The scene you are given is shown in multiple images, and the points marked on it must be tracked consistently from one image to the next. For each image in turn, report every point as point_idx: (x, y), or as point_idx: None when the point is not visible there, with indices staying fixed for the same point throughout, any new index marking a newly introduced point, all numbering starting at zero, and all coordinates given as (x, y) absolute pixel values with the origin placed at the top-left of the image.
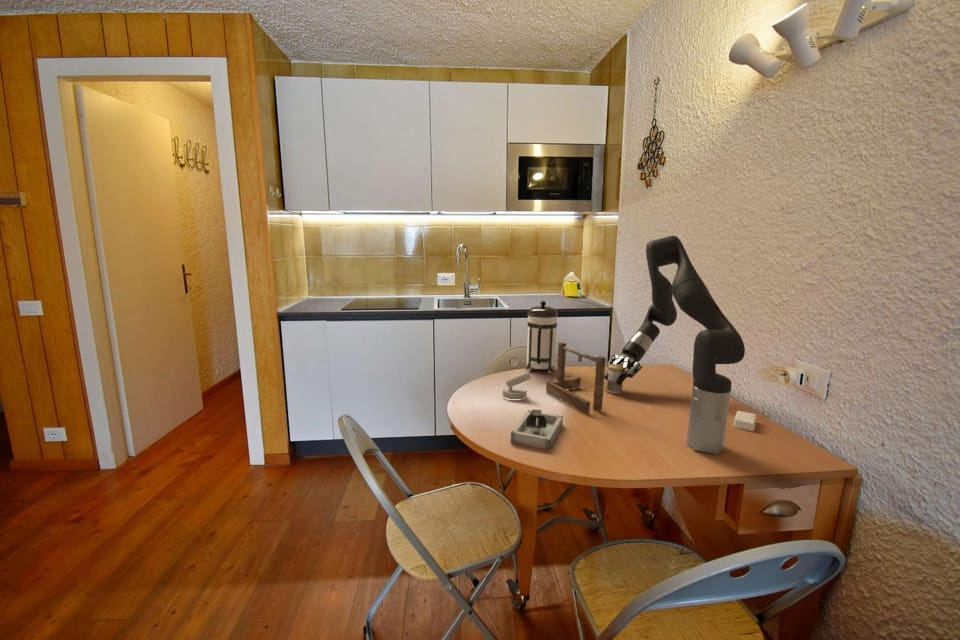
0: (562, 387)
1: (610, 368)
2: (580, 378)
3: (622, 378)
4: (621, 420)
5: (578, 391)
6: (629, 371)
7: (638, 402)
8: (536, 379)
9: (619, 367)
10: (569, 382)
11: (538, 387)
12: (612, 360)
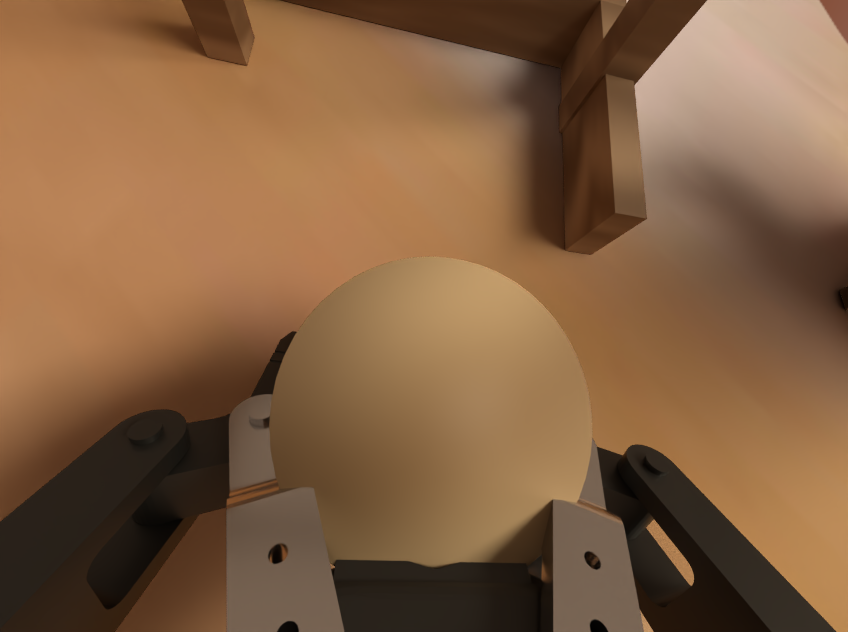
0: (573, 102)
1: (442, 266)
2: (611, 213)
3: (267, 373)
4: (23, 25)
5: (519, 196)
6: (119, 465)
7: (110, 381)
8: (764, 158)
9: (338, 385)
10: (594, 132)
11: (655, 80)
12: (739, 625)
